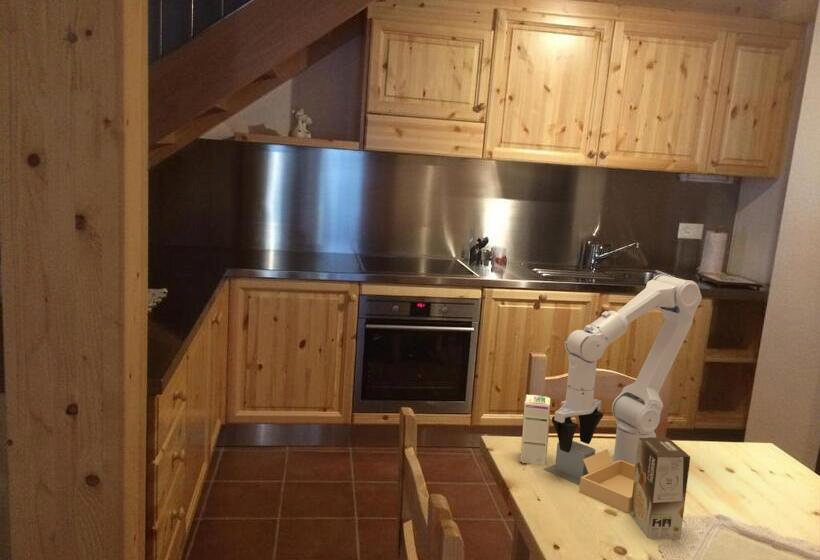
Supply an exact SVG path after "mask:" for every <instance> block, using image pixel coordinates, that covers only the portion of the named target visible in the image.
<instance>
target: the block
mask: <svg viewBox="0 0 820 560" xmlns="http://www.w3.org/2000/svg"><path fill="white" fill-rule="evenodd" d="M556 445H557V446H556V452H555V454H556V455H555V464H554V465H555V469H557V470H559V471H561V472H564V473H566V474H568V475H571V476H573V477H575V478H578V479H581V477H582V476H585V475H587V474H589V473H588V471H587V469H586V466H585V464H584V462H583V459H585V458H588V457H590V456H592V455H595V454H596V449H595V448H594V447H591V446H588V445H585V444H583V443H580V442H577V441H574V440H573V441H572V446H571V450H570V452H568V453H567V452H565V451H562V450H560V446H559V441H558V442H557V444H556Z"/></svg>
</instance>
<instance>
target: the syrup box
mask: <svg viewBox="0 0 820 560" xmlns="http://www.w3.org/2000/svg"><path fill="white" fill-rule="evenodd" d="M550 415H551V397H549V396H546V395H540V394H526V395H525V398H524V406H523V417H522V418H523V421H522V423H523V424H522V434H521V435H522V436H521V447H520V451H521V452H520V463H521V462H522V463H521V464H524V463H528V464H527V465H531V464H534V465H542V466H546V465H547V456H548V446H549V445H548V442H549V433H550V420H551V419H550V417H551V416H550Z"/></svg>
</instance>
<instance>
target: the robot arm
mask: <svg viewBox="0 0 820 560" xmlns="http://www.w3.org/2000/svg"><path fill="white" fill-rule="evenodd" d="M702 298H703V295H702V293H701V290H700V287H699V285H698V284H697V282H695V281H694V280H691V279H690V280H688V279H687V280H686V279H682V278H677V277H673V276H669V275H667V274H663V273H661V274H657V275H655V276H654V277H653V278H652V279H651V280H649V281H647V282H646V286H645V288H644V289H642V290H641V291H640V292H638V294H637V295H636V296H634V297H633V298H632V299H630V300H629V301H628V302H627V303H626V304H625V305H623V306H622V307H621V308H620V309H618V310H617V311H616V310H608V311H607V310H605V311H604V312H602V313H601V316H600V317H598V318H597V319H595V320H594V321H593V322H590V324H586V325H585V326H584V328H583V329H576V330H573V331H572V332H570V333H569V335H568V337H567V340H566V341H564V349H565V351H566V352H567V355H568V356H567V361H568V367H567V368H568V371H567V381H566V392H565V394H566V395H565V400H562V401H561V404H560V405H561V407H559V409H557V410H556V411H554V415H553V416H551V423H552V424H553V427H554V429H555V431H556V434H557V439H558V442H559V446H560V450H562V451H565V452H567V453H568V452H570V450H571V446H572V441H574V440H573V439H574V436H575V433H576V431H577V429H578V428H579V441H580V442H581V443H584V444H587V445H589V444H590V443H591V441H592V439H593V437H594V433H595V431H596V428H597V427H598V425H599V423H600V421H601V420H602V418H604V413H603V412H602V411H599V410H601V408H602V400H599V399H596V398H594V394H595V386H596V385H595V384H596V377H597V376H596V375H597V363H598V360H600V359H601V358H602V357H603V355H604V353H605V350H606V349H608V346H609V345H610V344H612V343H613V342H615V341H616V340H617V339H618V338H620V337H621V336H623V335H625V334H626V333H627V331H628V325H629V324H630V323H632V322H633V321H636V319H638V318H640V317H642V316H643V315H645V314H646V313H648V312H650V311H652V310H653V309H655V308H658V310H659V311H660V312H661V314H662V316H663V319H664V321H663V323H662V326H661V328H660V330H659V332H658V333H657V336H656V338H655V340H654V342H653V345H652V347H651V348H650V350H649V352H648V355H647V356H646V359H645V361H644V362H643V365H642V366H641V369H640V371H639V374H637V377H636V380H635V381H634V382H633V383H630V384H627V385H626V386H624V387H623V388H622V390H621V392H620V393H619V395H618V396H616V397H615V399H614V400H613V402H612V404H611V414H612V416H613V417H614V418H615V424H616V432H615V433H616V434H615V444H614V449H613V450H614V452H613V457H611V460H612V462H616V461H618V460H622V461H625V462H627V463H630V464H633V465H635V464H636V455H637V445H638V438H648V437H657V435H656V432H655V430H656V429H657V427H658V426H659V424H660V422H661V421H660V420H661V413H662V411H663V408H664V404H663V402H662V398H661V397H660V394H659V393H660V391H661V389H662V388H663V385H664V383H665V380H666V378H667V376H668V375H669V373H670V370H671V369H672V367H673V364H674V363H675V361H676V358H677V356H678V354H679V352H680V349H681V348H682V346H683V345H684V342H685V339H686V337H687V336H688V333H689V332H690V329H691V327H692V325H693V322H694V317H695V313H696V312H697V310H698V307H699V305H700V303H701V301H702V300H703V299H702ZM640 399H641V400H640ZM642 400H643V401H642ZM577 416H578V420H579V424H578V423H576V422H574V421H573V419H572V418H574V417H577Z"/></svg>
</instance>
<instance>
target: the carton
mask: <svg viewBox="0 0 820 560" xmlns="http://www.w3.org/2000/svg"><path fill="white" fill-rule="evenodd" d="M611 459H612V457H611V456H610V453H609V451H608V449H604V450H602V451H600V452H597V453H595V455H592V456H590V457H588V458H585V459H583V462H584V464H585V466H586V469H587V471H588V473H589V474H587V475H585V476H582V477H581V479H580V484H579V488H578V489H579V490H578V491H579V493H581V494H584V495H586V496H587V497H590V498H593V499H595V500H597V501H599V502H601V503H604V504H605V505H608V506H611V507H612V508H615V509H617V510H618V511H619V510H620V511H622V512H623V513H626V514H630V512H631V503H632V493H633V483H634V474H635V465H633V464H630V463H627V462H625V461H622V460H618V461H616V462H612V460H611Z"/></svg>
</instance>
